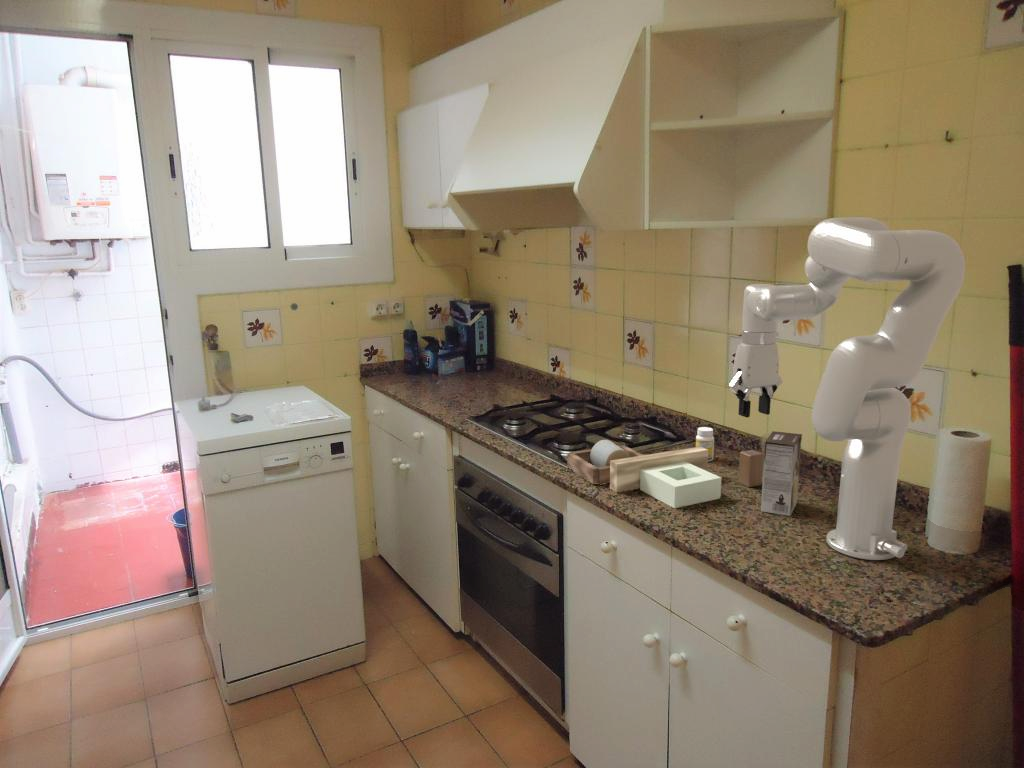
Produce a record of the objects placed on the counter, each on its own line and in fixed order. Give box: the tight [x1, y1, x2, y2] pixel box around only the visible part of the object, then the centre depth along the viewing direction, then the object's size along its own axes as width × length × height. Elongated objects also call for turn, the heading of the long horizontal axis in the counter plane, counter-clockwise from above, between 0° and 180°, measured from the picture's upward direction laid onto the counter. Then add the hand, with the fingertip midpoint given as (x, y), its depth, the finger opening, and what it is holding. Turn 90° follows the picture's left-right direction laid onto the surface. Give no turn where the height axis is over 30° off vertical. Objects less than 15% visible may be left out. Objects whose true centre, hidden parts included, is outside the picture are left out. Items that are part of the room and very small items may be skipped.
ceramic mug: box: [590, 439, 629, 468], centre depth 181 cm, size 11×8×8 cm
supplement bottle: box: [695, 426, 715, 462], centre depth 189 cm, size 5×5×8 cm
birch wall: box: [609, 446, 709, 494], centre depth 172 cm, size 3×26×7 cm, turn 113°
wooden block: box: [738, 449, 764, 488], centre depth 171 cm, size 4×4×8 cm
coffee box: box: [760, 430, 803, 517], centre depth 156 cm, size 9×6×16 cm
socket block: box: [639, 461, 722, 509], centre depth 165 cm, size 13×13×5 cm
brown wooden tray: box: [566, 444, 644, 485], centre depth 181 cm, size 15×17×4 cm
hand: (754, 413), depth 168 cm, fingers open, 5 cm apart
